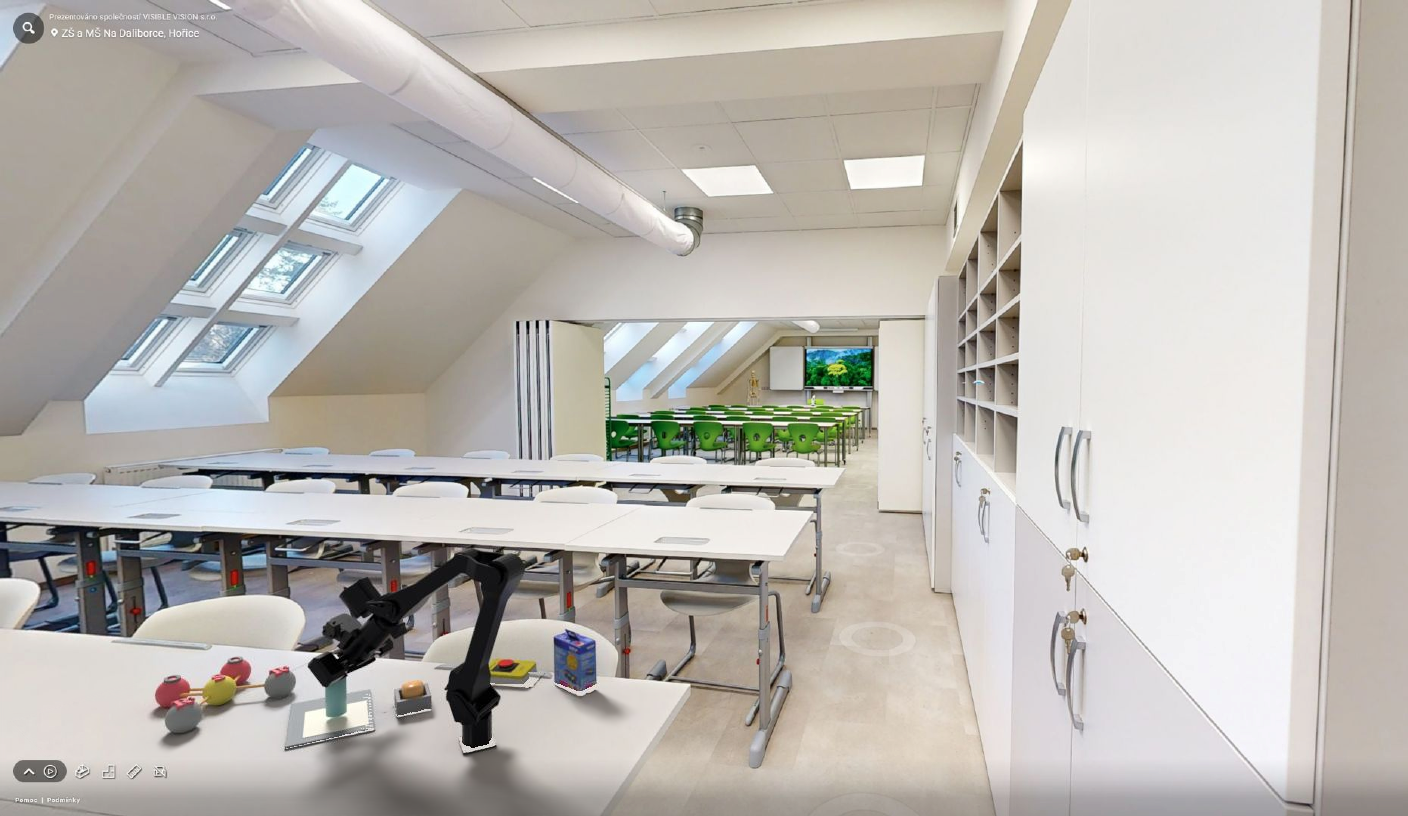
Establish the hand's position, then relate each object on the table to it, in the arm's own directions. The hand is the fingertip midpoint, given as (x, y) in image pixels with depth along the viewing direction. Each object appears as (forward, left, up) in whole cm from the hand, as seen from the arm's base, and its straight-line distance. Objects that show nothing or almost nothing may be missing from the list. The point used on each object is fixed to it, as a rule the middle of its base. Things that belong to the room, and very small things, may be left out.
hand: (330, 679), depth 146 cm
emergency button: (+4, -39, -10) cm, 40 cm away
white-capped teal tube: (-1, -1, -7) cm, 7 cm away
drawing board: (+1, 0, -9) cm, 9 cm away
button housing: (-2, -16, -9) cm, 18 cm away
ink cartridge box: (-9, -51, -9) cm, 53 cm away
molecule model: (+21, +22, -10) cm, 32 cm away
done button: (-2, -16, -7) cm, 17 cm away
